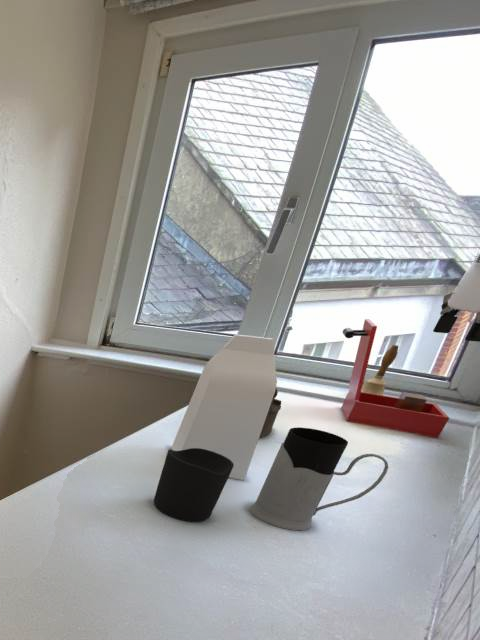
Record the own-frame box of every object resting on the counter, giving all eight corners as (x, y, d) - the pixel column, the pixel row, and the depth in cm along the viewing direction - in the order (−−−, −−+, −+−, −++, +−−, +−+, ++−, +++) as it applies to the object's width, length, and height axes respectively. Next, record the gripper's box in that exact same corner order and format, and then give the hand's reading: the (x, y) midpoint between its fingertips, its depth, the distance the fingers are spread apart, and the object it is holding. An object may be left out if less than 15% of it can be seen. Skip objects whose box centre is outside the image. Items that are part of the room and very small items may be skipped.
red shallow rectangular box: (425, 423, 144) (436, 404, 142) (437, 438, 134) (449, 417, 132) (340, 408, 153) (349, 389, 150) (346, 421, 143) (355, 401, 140)
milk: (175, 466, 111) (221, 337, 99) (171, 447, 120) (213, 327, 109) (244, 480, 107) (300, 347, 95) (234, 459, 116) (285, 335, 104)
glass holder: (247, 499, 99) (281, 422, 92) (345, 522, 93) (389, 441, 86) (251, 520, 92) (288, 438, 86) (358, 546, 86) (407, 460, 80)
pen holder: (213, 530, 89) (236, 475, 84) (149, 513, 93) (167, 460, 88) (210, 506, 96) (231, 454, 92) (151, 492, 100) (168, 441, 96)
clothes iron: (225, 436, 128) (246, 380, 122) (234, 419, 140) (254, 368, 133) (265, 445, 124) (290, 388, 118) (272, 427, 135) (294, 374, 129)
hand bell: (386, 399, 163) (414, 346, 156) (385, 405, 157) (414, 350, 150) (350, 392, 168) (376, 340, 161) (348, 398, 162) (374, 344, 155)
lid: (369, 319, 143) (343, 319, 146) (377, 326, 133) (349, 326, 136) (352, 388, 150) (327, 387, 153) (358, 400, 140) (332, 399, 143)
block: (408, 420, 143) (422, 395, 140) (412, 426, 139) (427, 399, 136) (388, 417, 145) (401, 391, 142) (391, 422, 141) (405, 396, 138)
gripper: (555, 264, 114) (506, 346, 122) (486, 257, 129) (446, 331, 137) (513, 261, 115) (467, 342, 123) (449, 255, 131) (412, 328, 138)
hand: (456, 336), depth 130 cm, fingers open, 9 cm apart
